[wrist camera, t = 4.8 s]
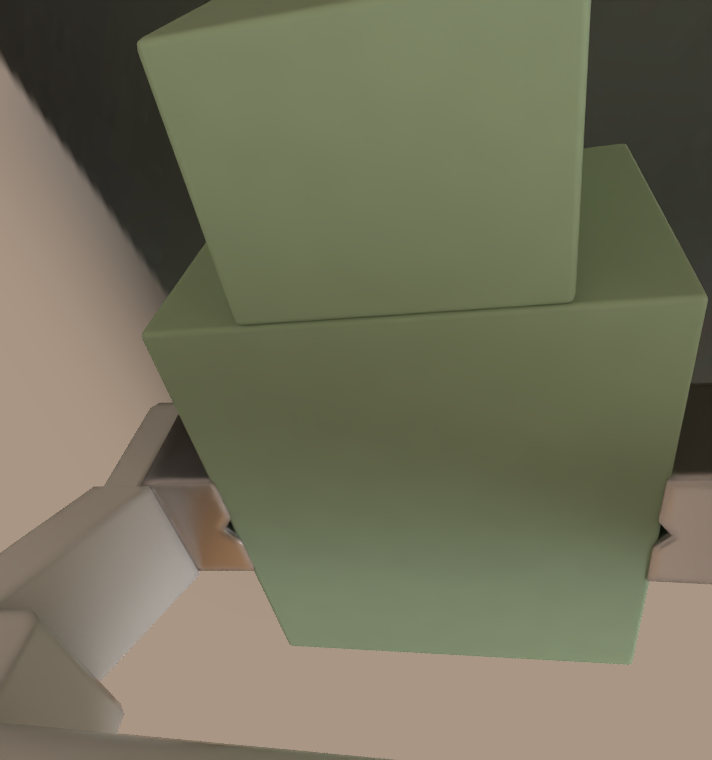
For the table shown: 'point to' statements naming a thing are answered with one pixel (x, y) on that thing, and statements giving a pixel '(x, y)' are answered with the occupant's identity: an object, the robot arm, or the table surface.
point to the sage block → (423, 322)
